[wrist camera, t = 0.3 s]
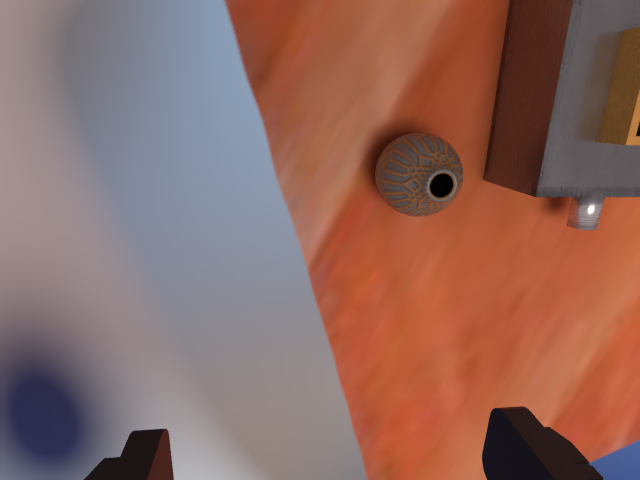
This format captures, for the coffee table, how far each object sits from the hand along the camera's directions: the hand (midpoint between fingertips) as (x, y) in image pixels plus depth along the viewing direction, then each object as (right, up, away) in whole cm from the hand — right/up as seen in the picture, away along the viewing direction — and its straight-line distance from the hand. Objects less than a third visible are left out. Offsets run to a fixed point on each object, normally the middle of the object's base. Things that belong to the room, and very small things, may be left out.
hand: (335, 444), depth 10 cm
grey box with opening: (+23, +17, +28) cm, 40 cm away
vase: (+7, +12, +28) cm, 31 cm away
